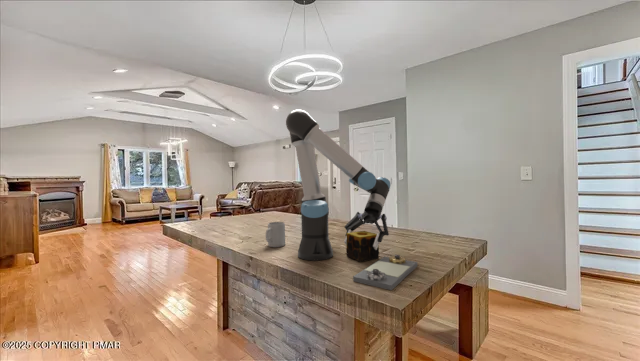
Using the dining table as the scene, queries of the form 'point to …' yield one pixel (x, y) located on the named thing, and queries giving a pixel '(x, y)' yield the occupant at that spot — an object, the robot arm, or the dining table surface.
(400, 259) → the gear board
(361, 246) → the candle
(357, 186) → the robot arm
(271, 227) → the mug
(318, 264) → the dining table surface
